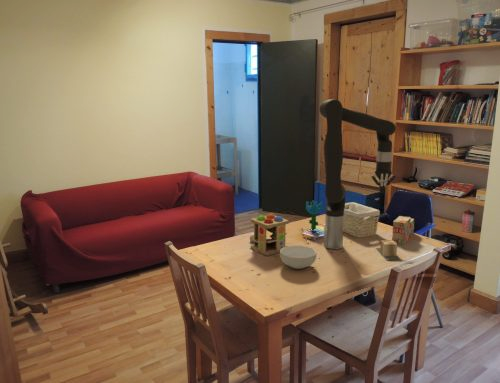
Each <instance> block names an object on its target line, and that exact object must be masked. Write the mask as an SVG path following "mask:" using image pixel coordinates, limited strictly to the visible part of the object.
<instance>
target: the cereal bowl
mask: <svg viewBox="0 0 500 383" xmlns="http://www.w3.org/2000/svg"><path fill="white" fill-rule="evenodd" d="M286 246H287V245H286ZM279 257H280V260H281V261H282V263H283V264H285V265H287V266H289V267H290V268H292V269H298V270H299V269H300V270H302V269H304V268H307V267H309V266H311V265H313V264H314V263H315V262H316V259H317V250H315V249H314V248H313V247H309V246H306V245H305V246H304V245H288V246H287V247H284V248H282V249H281V250H280V253H279Z"/></svg>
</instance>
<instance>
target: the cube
mask: <svg viewBox="0 0 500 383" xmlns="http://www.w3.org/2000/svg"><path fill="white" fill-rule="evenodd" d="M379 248H380V252H381V253H382V254H383V255H384V256H396V255H397V251H398V244H397V243H395V242H394V241H393V240H392V239H390V240H389V239H388V240H387V239H385V240H383V239H382V240H380V247H379ZM397 256H398V255H397Z"/></svg>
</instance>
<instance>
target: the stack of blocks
mask: <svg viewBox="0 0 500 383" xmlns="http://www.w3.org/2000/svg"><path fill="white" fill-rule="evenodd" d="M414 230H415V218H411V217H410V216H403V215H399V216H398V217H396V219H394V220H393V221H392V235H391V236H392V237H391V240H393V241H394V242H395V243H396V244H397V245H402V244H403V245H405V244H406V242H408V241H409V239H410V238H411V237H412V236H413V234H414V232H415V231H414ZM410 236H411V237H410ZM407 240H408V241H407Z"/></svg>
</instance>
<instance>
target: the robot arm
mask: <svg viewBox="0 0 500 383" xmlns="http://www.w3.org/2000/svg"><path fill="white" fill-rule="evenodd" d="M319 112H320V115H321V116H322V117H323V118H325V119H326V126H327V127H326V134H325V138H324V143H323V159H324V169H325V170H324V171H325V191H324V195H325V199H326V207H325V221H324V222H325V224H324V227H323V245H324V248H325V249H331V250H340V249H342V248H343V246H344V245H343V240H344V232H343V222H344V209H346V208H345V203H346V195H347V194H346V188H345V187H344V185H343V184H342V177H341V175H342V168H343V160H344V150H343V149H344V146H343V132H342V127H343V124H342V123H343V122H346V123H349V124H351V125H355V126H357V127H360V128H363V129H366V130H368V131H374V132H375V133H376V134H375V135H376V139H377V152H376V162H375V163H376V166H375V172H374V173H373V174H370V178H371V179H372V180H373V183H375V185H377V186H378V188H379V189H378V191H379V193H380V194H384V193H385V192H386V187H387V186H390V184H391V183H392V182H393V181H394V180H395V179H396V175H394V174H393V172H392V165H393V163H392V161H393V154H392V153H393V142H392V140H391V138H390V136H392V135H394V134H395V132H396V130H397V129H396V128H397V126H396V124H395V123H394V122H392V121H390V120H387V119H382V118H379V117H377V116H374V115H371V114H368V113H365V112H361V111H356V110H354V109H353V110H352V109H349V108H345V107H343V104H342V103H341V101H340V100H339V99H335V98H332V99H331V98H330V99H327V100H324V101H323V102H321V103H320V106H319ZM377 179H378V180H377Z"/></svg>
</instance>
